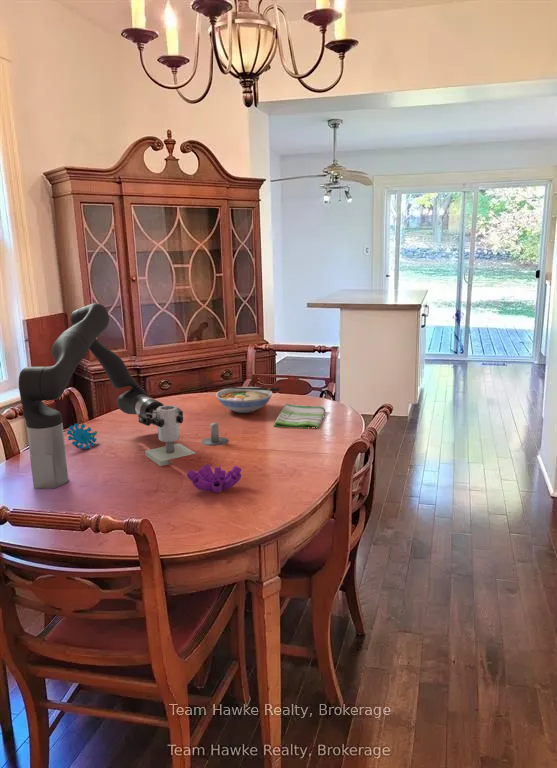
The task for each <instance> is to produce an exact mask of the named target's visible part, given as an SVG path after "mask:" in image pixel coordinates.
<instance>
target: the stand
mask: <svg viewBox="0 0 557 768" xmlns="http://www.w3.org/2000/svg"><path fill="white" fill-rule="evenodd" d="M209 427H210V437H206V438H204V439H202V440H201V441H200V442H201V444H202V445H204V446H210V447H219V446H223V445H226V444H228V443H229V438H226V437H222V436H220V433H219V431H220V429H219V422H211V423H210V424H209Z"/></svg>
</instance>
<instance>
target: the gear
mask: <svg viewBox="0 0 557 768" xmlns="http://www.w3.org/2000/svg"><path fill="white" fill-rule="evenodd" d="M79 425H80V424H79V423H74V425H70V426H69V427H68V430H67V431H66V434H67V435H68V437H67V439H68V441H72V442H71V444H72V446H74V447H75V446H78V447H77V448H78V449H79V450H82V449H83V448H84V449H85V450H89V449H90V447H91V448H93V447H94V446H95V442H96V441H97V440H98V439H97V438H96V437H95V436H97V434H98V431H97V430H95V431H94V432H91V431H92V428H91V427H90V426H89V427H87V428H85V427H86V425H85V424H84V423H81V425H80V428H79ZM78 444H79V445H78ZM84 445H85V446H84Z"/></svg>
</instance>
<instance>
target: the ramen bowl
mask: <svg viewBox="0 0 557 768" xmlns="http://www.w3.org/2000/svg"><path fill="white" fill-rule="evenodd" d="M220 389H221V390H219V391H217V392H216V394H215V397H216V398H217V400H218V401H219V403H220V404H221V405H222V406H223V407H225V409H228V410H230V411H233V412H236V413H238V414H248V413H249V414H250V413H253V412H254V411H257V410H259V409H262V408H263V407H265V406H266V405H267V404H268V403H269V401H270V400H271V397H272V395H273V392H274V391H275V392H279V390H280V387H257V386H239V387H238V386H237V387H227V386H222V387H220Z"/></svg>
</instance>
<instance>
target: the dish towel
mask: <svg viewBox="0 0 557 768" xmlns="http://www.w3.org/2000/svg"><path fill="white" fill-rule="evenodd" d="M324 412H325V413H326V408H324V407H323V406H321V405H320V406H319V405H318V406H317V405H302V404H301V405H300V404H291V403H286V404H285V405H284V406H283V407H282V409H281V410H280V412H279V414H278V416H277V418H276V420H275V422H274V424H273V428H282V427H300V428H299V429H302V428H301V427H304V428H303V429H307V428H308V427H309V428H312V427H315V429H317V428H318V427H319V428H320V426H319V425H321V424H322V423H321V420H322V418H323V414H324ZM324 415H325V414H324ZM323 419H324V418H323ZM322 421H323V420H322ZM320 423H321V424H320ZM316 427H317V428H316ZM319 428H318V429H319Z"/></svg>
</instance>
